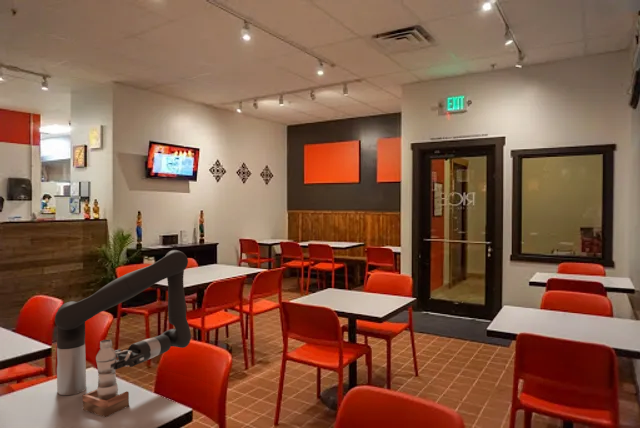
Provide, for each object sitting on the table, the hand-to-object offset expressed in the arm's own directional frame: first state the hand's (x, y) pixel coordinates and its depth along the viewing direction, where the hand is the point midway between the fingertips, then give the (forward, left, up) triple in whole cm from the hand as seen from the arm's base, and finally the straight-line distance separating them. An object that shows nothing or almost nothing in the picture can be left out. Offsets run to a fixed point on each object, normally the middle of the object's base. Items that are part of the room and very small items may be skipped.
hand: (105, 364), depth 151 cm
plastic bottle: (0, 0, -12) cm, 12 cm away
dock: (0, 0, -15) cm, 15 cm away
